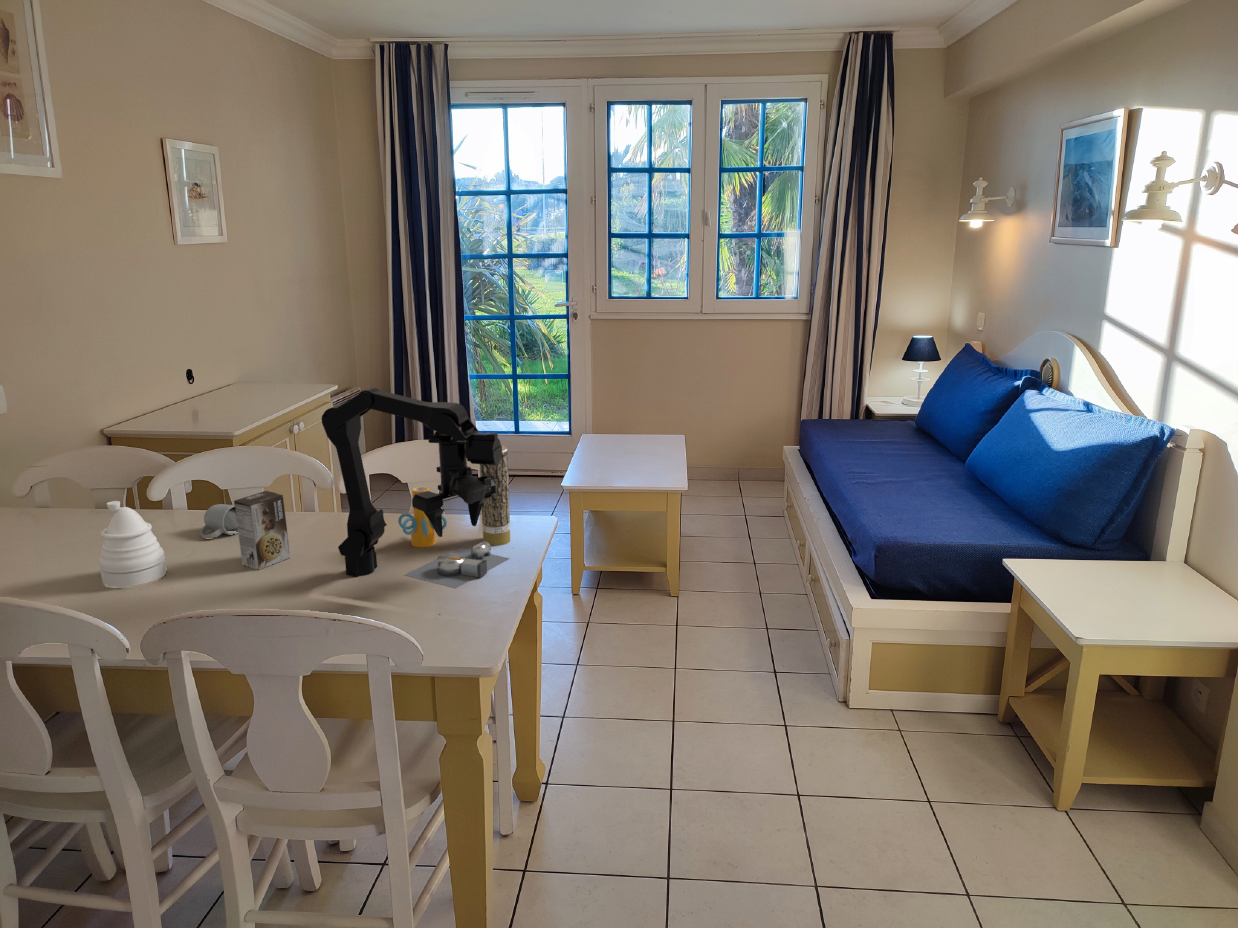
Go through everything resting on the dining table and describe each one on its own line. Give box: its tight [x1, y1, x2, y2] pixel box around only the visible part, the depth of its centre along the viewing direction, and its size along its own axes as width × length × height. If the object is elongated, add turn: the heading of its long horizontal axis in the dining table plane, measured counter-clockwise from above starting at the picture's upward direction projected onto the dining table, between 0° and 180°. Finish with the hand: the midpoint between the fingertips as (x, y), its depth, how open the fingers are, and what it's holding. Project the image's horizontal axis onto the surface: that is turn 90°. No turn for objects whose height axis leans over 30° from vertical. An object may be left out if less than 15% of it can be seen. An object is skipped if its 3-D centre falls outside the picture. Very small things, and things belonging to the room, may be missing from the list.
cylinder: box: [397, 486, 448, 548], centre depth 209 cm, size 12×10×15 cm
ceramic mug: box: [199, 503, 238, 539], centre depth 219 cm, size 11×8×8 cm
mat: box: [404, 547, 511, 589], centre depth 196 cm, size 20×15×1 cm
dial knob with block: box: [435, 552, 488, 578], centre depth 192 cm, size 12×6×3 cm, turn 71°
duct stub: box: [470, 541, 492, 560], centre depth 202 cm, size 4×3×3 cm
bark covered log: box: [479, 444, 511, 547], centre depth 209 cm, size 7×7×25 cm
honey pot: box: [98, 500, 168, 587], centre depth 190 cm, size 13×13×18 cm
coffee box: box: [233, 490, 291, 570], centre depth 199 cm, size 9×6×16 cm
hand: (457, 531), depth 186 cm, fingers open, 9 cm apart
